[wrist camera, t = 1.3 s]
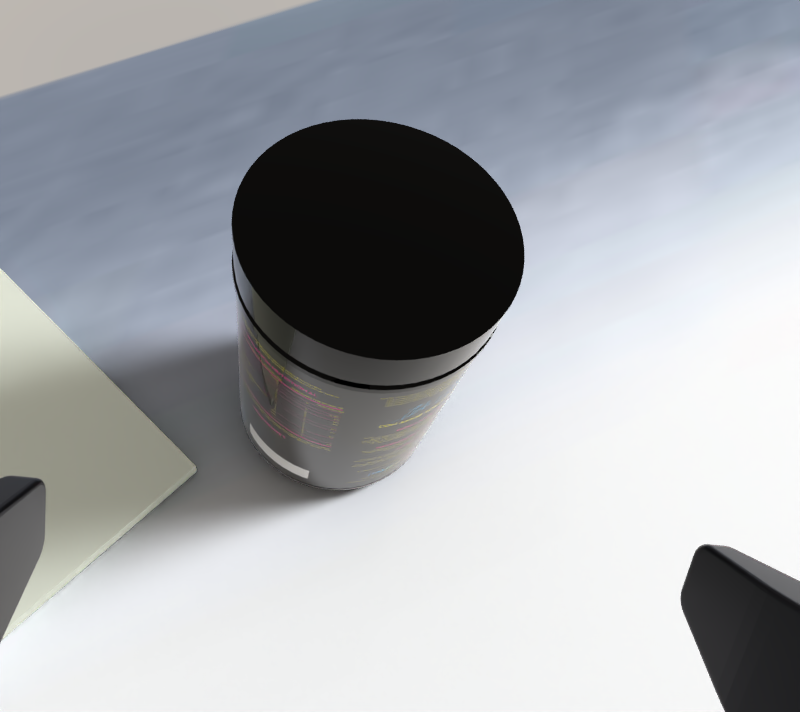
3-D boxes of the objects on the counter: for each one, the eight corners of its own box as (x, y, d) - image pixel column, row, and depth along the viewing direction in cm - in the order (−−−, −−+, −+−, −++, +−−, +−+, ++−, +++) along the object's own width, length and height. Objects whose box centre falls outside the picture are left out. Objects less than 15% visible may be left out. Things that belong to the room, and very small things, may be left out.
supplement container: (456, 385, 26) (569, 210, 16) (365, 536, 22) (442, 422, 13) (308, 294, 26) (338, 77, 17) (198, 429, 23) (162, 248, 14)
